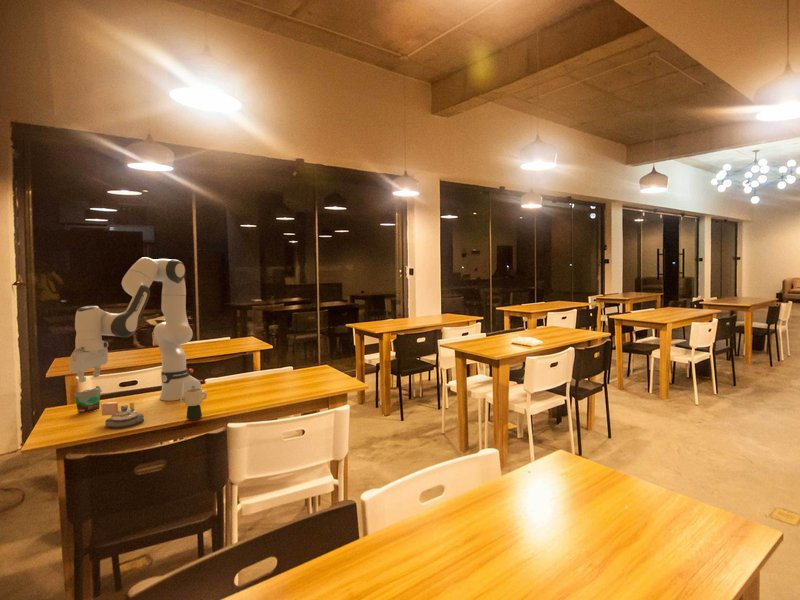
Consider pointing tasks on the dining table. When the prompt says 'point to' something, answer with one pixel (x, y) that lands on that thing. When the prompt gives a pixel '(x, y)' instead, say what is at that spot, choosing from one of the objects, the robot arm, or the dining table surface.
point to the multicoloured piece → (117, 412)
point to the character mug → (193, 402)
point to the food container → (88, 400)
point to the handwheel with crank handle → (125, 424)
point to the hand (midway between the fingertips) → (89, 379)
